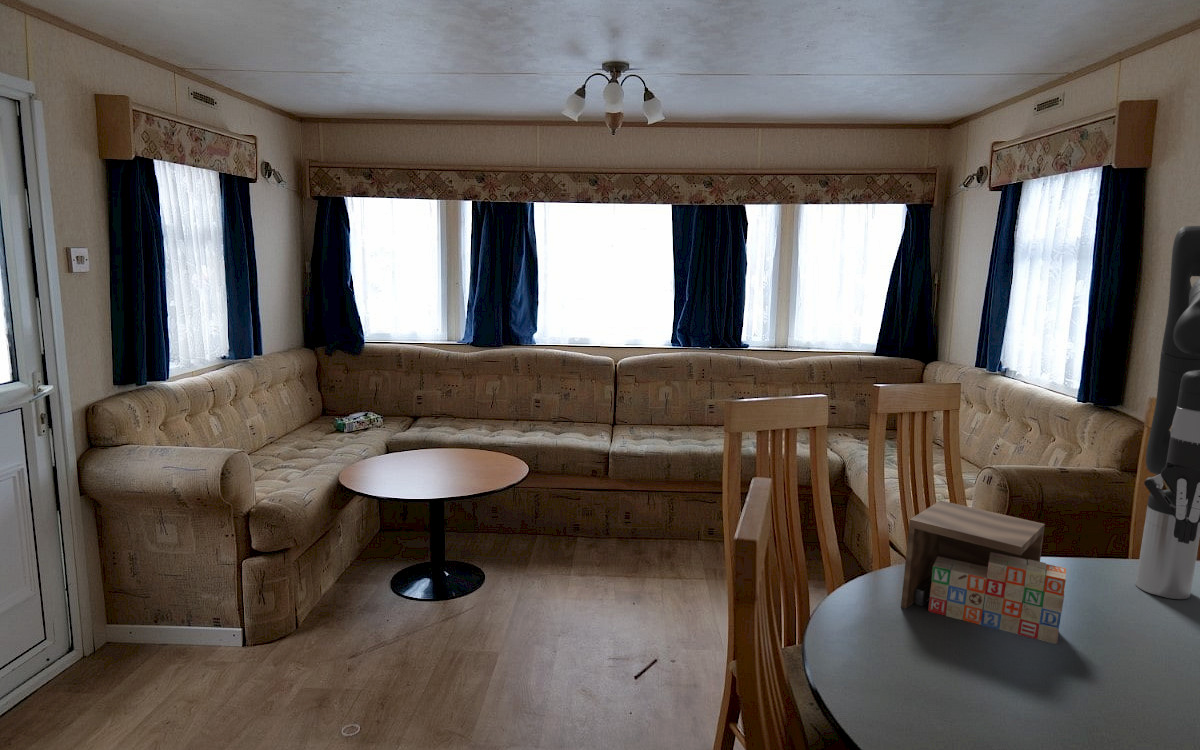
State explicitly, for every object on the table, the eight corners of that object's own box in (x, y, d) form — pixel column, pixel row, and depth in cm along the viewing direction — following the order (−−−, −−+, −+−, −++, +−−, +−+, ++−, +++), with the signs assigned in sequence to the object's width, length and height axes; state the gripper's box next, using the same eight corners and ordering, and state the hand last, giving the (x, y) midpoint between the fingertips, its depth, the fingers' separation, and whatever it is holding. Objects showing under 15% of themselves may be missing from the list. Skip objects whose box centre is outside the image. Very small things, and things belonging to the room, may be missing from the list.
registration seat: (931, 588, 157) (933, 574, 156) (939, 590, 156) (941, 576, 155) (914, 603, 149) (915, 589, 149) (922, 606, 148) (923, 591, 148)
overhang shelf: (931, 581, 160) (940, 500, 157) (1033, 611, 148) (1044, 524, 145) (900, 607, 147) (909, 519, 145) (1009, 642, 135) (1021, 547, 132)
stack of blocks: (927, 612, 146) (933, 550, 144) (932, 600, 151) (938, 540, 149) (1057, 645, 135) (1066, 578, 133) (1058, 631, 140) (1066, 566, 139)
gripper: (1255, 441, 120) (1237, 547, 123) (1152, 426, 129) (1137, 525, 132) (1253, 449, 115) (1234, 559, 118) (1146, 433, 123) (1131, 536, 126)
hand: (1183, 541), depth 125 cm, fingers closed
